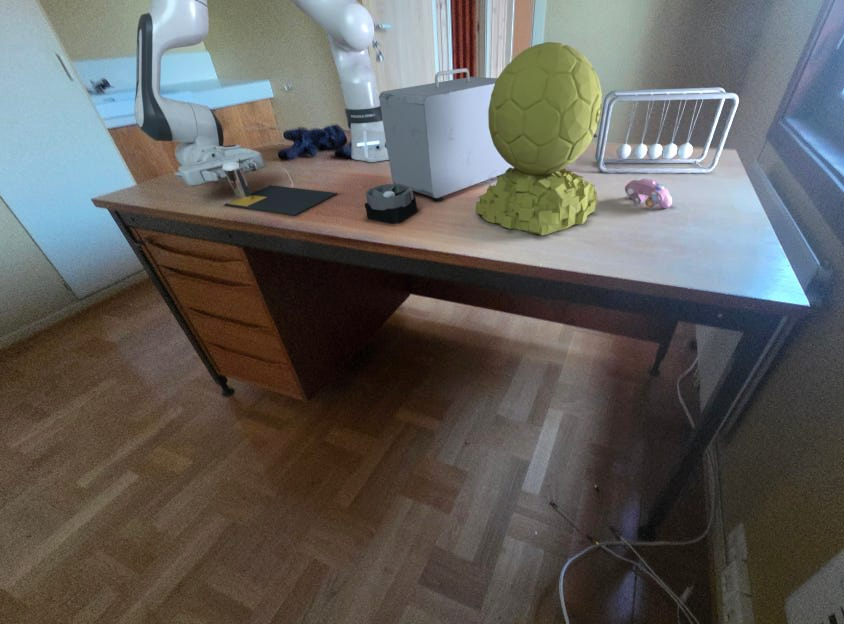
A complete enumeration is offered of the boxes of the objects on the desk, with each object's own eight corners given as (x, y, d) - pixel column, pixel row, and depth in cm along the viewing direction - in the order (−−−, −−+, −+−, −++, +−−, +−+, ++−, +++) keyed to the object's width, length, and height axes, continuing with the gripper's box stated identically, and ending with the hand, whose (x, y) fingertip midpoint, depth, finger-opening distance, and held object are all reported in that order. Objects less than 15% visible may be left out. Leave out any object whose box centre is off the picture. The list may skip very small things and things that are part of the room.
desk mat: (337, 194, 104) (336, 192, 103) (295, 216, 93) (294, 214, 93) (270, 186, 112) (269, 184, 111) (224, 205, 101) (224, 203, 101)
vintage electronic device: (472, 163, 120) (468, 62, 104) (517, 173, 110) (521, 63, 94) (389, 190, 104) (370, 76, 88) (433, 205, 94) (421, 79, 78)
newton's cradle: (596, 173, 107) (609, 96, 96) (593, 162, 115) (605, 90, 103) (714, 173, 103) (742, 92, 91) (702, 162, 110) (728, 86, 99)
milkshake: (250, 203, 100) (233, 161, 93) (232, 202, 101) (214, 161, 94) (260, 197, 103) (245, 156, 97) (243, 196, 104) (226, 156, 98)
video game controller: (623, 207, 92) (620, 182, 86) (635, 194, 92) (634, 168, 87) (661, 219, 86) (660, 193, 80) (674, 205, 86) (675, 178, 81)
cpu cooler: (355, 194, 86) (384, 180, 92) (361, 219, 89) (388, 205, 96) (393, 200, 82) (420, 185, 88) (397, 226, 85) (423, 210, 92)
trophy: (607, 211, 86) (642, 36, 66) (546, 244, 75) (566, 46, 55) (528, 191, 99) (538, 38, 79) (466, 216, 88) (459, 47, 68)
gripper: (165, 160, 96) (187, 168, 89) (243, 143, 108) (269, 149, 101) (178, 187, 100) (200, 197, 93) (253, 167, 112) (277, 174, 105)
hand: (236, 172), depth 97 cm, fingers open, 8 cm apart
